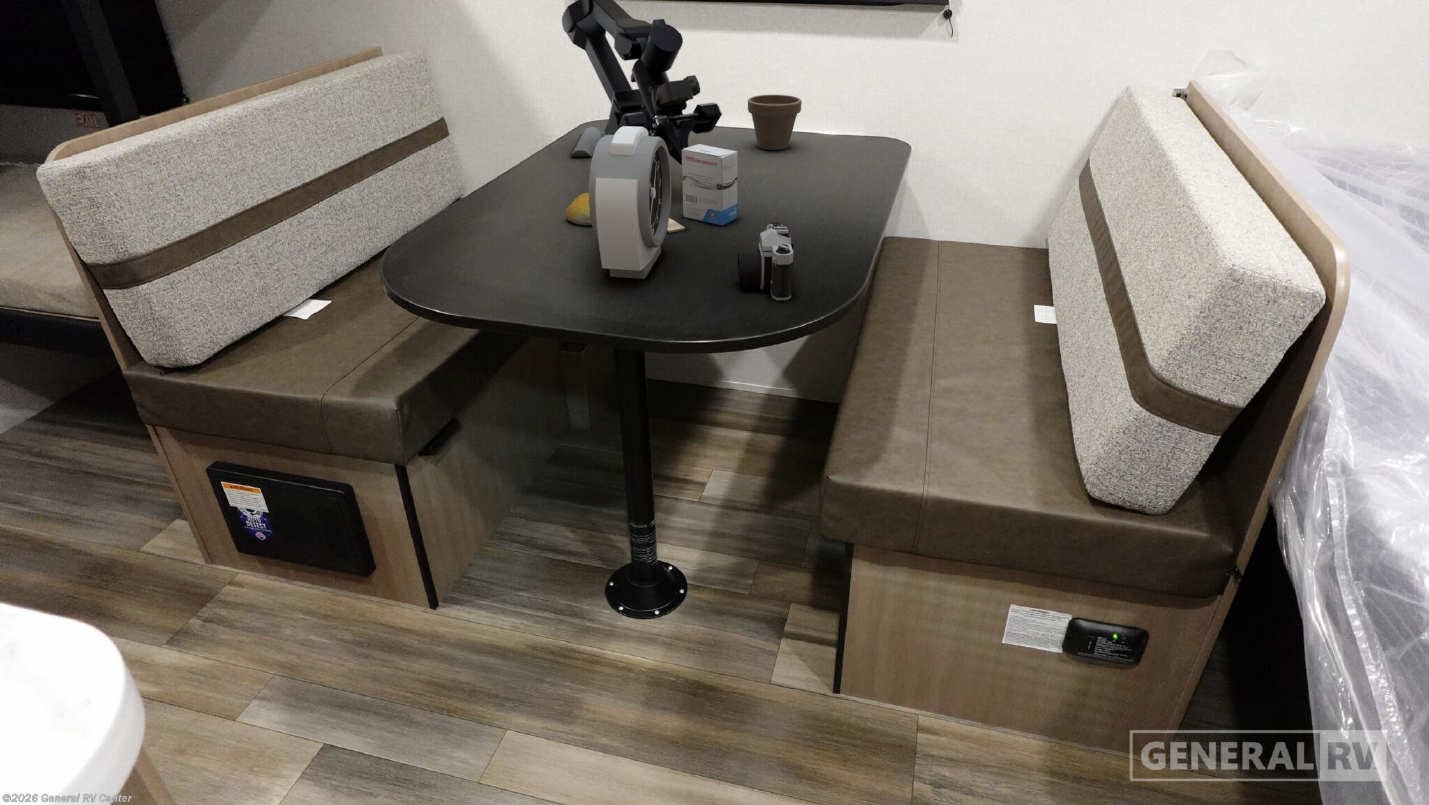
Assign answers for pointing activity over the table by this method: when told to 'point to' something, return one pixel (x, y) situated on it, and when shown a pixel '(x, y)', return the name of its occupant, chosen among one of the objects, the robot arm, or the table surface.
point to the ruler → (674, 226)
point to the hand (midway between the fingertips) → (685, 164)
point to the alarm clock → (630, 200)
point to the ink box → (709, 184)
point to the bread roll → (579, 210)
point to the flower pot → (774, 119)
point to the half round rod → (587, 143)
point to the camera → (769, 262)
